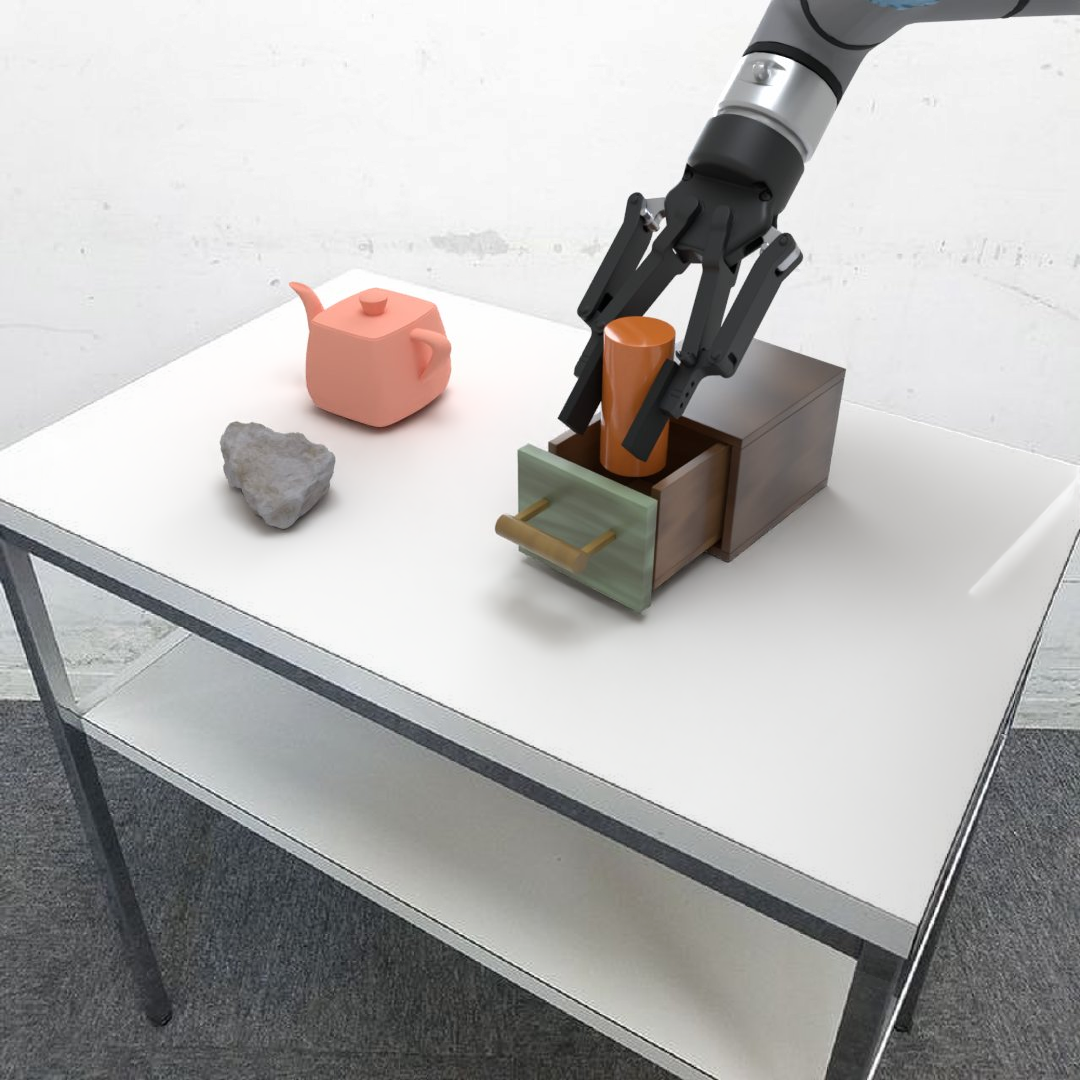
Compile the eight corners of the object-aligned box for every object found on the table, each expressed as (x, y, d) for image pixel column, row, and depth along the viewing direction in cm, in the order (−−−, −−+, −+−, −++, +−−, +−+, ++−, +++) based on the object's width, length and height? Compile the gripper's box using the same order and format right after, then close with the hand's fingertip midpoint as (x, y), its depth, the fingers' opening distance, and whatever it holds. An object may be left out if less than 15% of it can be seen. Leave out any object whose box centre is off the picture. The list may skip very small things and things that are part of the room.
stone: (192, 505, 95) (179, 442, 92) (263, 462, 101) (254, 401, 97) (283, 544, 91) (273, 479, 87) (352, 496, 96) (346, 433, 93)
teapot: (414, 451, 102) (406, 340, 96) (260, 397, 110) (244, 292, 104) (490, 398, 110) (487, 293, 104) (341, 352, 118) (331, 252, 112)
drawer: (597, 647, 79) (600, 539, 74) (473, 580, 86) (469, 476, 81) (747, 531, 91) (759, 430, 86) (628, 479, 97) (633, 382, 92)
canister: (680, 458, 85) (690, 329, 79) (639, 484, 82) (647, 353, 76) (626, 436, 88) (632, 309, 82) (585, 461, 85) (589, 332, 79)
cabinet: (728, 562, 89) (742, 439, 83) (597, 502, 96) (601, 384, 90) (827, 484, 98) (846, 368, 92) (701, 434, 105) (711, 323, 99)
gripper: (633, 86, 83) (477, 379, 82) (862, 134, 74) (689, 466, 73) (672, 146, 89) (529, 418, 89) (888, 197, 80) (729, 504, 79)
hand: (601, 439), depth 81 cm, fingers closed on canister, 5 cm apart
